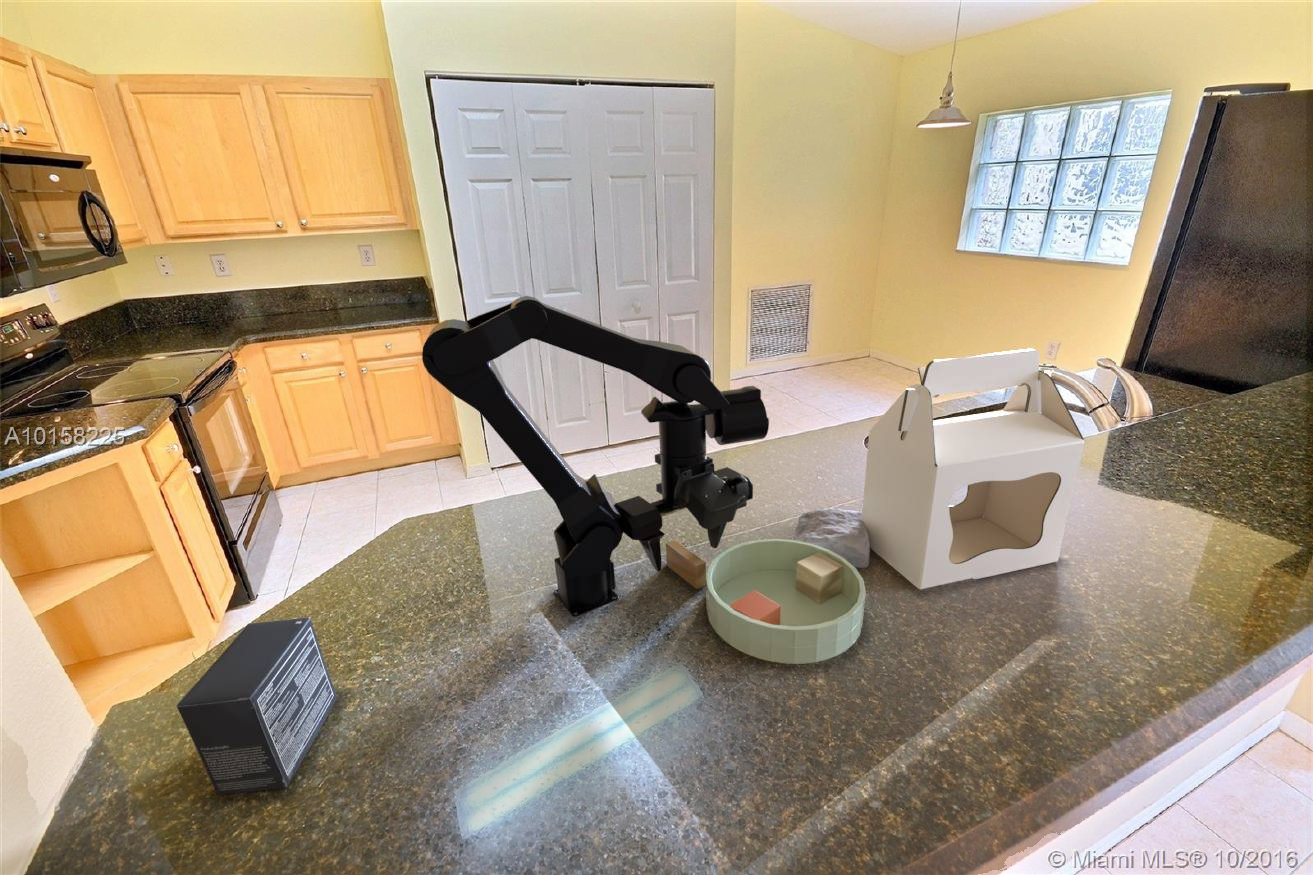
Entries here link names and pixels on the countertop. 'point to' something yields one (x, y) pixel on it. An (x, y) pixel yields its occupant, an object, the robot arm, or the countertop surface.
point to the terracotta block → (758, 608)
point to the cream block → (819, 577)
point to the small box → (260, 706)
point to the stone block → (836, 533)
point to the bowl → (782, 603)
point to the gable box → (972, 473)
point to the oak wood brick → (686, 564)
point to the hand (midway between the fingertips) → (686, 558)
